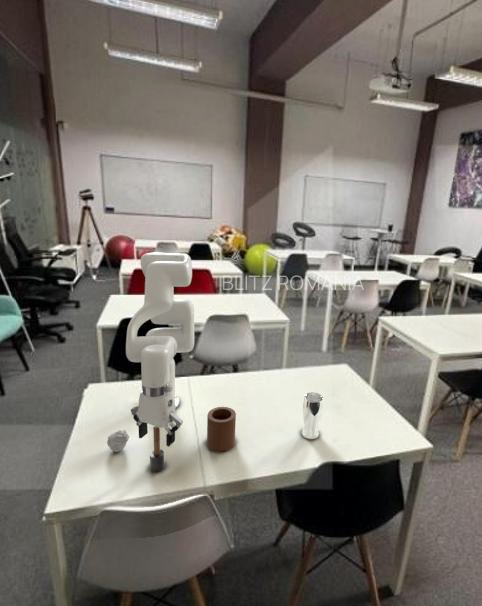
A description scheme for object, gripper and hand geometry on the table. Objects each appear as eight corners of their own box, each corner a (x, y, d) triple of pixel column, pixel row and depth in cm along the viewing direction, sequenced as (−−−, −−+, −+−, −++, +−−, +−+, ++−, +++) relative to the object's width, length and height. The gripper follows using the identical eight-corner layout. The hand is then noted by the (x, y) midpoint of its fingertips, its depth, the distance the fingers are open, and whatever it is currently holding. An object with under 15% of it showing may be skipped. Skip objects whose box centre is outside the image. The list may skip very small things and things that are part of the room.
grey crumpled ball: (121, 458, 118) (120, 439, 116) (102, 453, 119) (101, 434, 118) (134, 447, 123) (133, 428, 122) (116, 442, 125) (115, 423, 123)
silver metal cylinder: (321, 431, 139) (325, 394, 136) (316, 442, 133) (320, 404, 129) (303, 426, 141) (307, 390, 138) (298, 437, 135) (301, 399, 131)
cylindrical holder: (201, 447, 126) (202, 418, 123) (215, 432, 134) (216, 404, 132) (226, 454, 123) (227, 425, 120) (239, 438, 132) (240, 410, 129)
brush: (147, 470, 114) (146, 429, 110) (155, 461, 118) (155, 422, 114) (158, 473, 113) (158, 432, 109) (166, 465, 116) (166, 425, 113)
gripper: (189, 388, 110) (189, 439, 114) (139, 376, 115) (140, 426, 119) (174, 400, 103) (174, 454, 107) (121, 387, 108) (123, 439, 112)
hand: (156, 439), depth 113 cm, fingers open, 9 cm apart
